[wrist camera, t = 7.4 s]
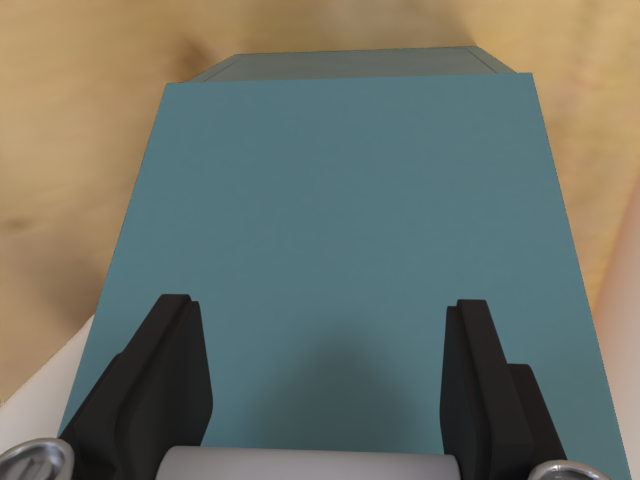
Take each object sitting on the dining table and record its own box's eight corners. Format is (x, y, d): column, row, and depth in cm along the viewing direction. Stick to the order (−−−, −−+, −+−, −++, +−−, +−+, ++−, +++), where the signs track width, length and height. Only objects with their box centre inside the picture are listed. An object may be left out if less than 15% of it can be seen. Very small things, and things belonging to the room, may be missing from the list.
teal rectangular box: (459, 307, 38) (489, 422, 28) (259, 305, 39) (221, 414, 29) (478, 46, 31) (526, 78, 21) (233, 54, 32) (172, 88, 22)
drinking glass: (60, 315, 41) (-96, 483, 27) (134, 281, 39) (7, 442, 26) (114, 384, 43) (-4, 570, 30) (187, 355, 41) (96, 538, 28)
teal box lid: (665, 681, 11) (834, 708, 7) (13, 636, 12) (-165, 637, 8) (527, 89, 21) (564, -43, 17) (172, 98, 22) (126, -22, 18)
